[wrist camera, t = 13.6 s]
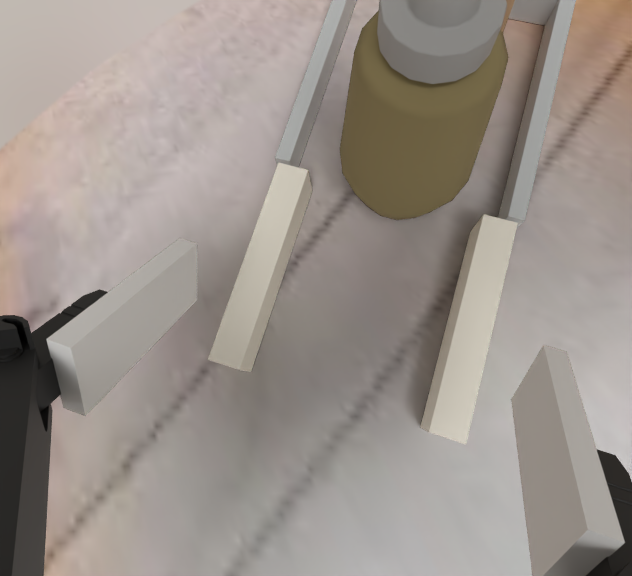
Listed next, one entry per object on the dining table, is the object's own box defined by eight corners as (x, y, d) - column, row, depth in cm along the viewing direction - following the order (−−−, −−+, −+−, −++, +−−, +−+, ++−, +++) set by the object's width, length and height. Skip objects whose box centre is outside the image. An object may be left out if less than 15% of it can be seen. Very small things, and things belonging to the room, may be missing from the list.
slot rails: (500, 239, 29) (517, 222, 26) (453, 438, 26) (465, 444, 23) (285, 183, 31) (278, 162, 28) (222, 362, 28) (207, 359, 25)
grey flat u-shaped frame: (561, 16, 32) (578, -14, 29) (510, 234, 29) (524, 220, 26) (351, -22, 34) (351, -54, 32) (280, 175, 31) (275, 157, 28)
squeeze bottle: (346, 125, 31) (342, -207, 14) (461, 131, 30) (612, -214, 13) (335, 232, 30) (315, 6, 12) (457, 241, 29) (625, 13, 11)
